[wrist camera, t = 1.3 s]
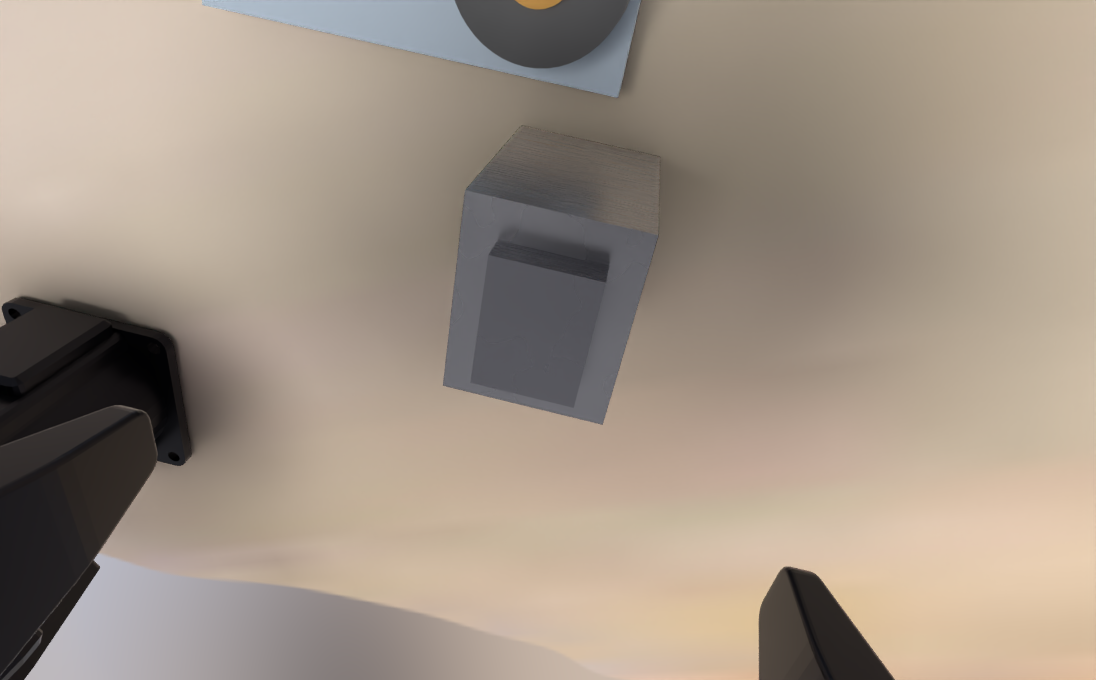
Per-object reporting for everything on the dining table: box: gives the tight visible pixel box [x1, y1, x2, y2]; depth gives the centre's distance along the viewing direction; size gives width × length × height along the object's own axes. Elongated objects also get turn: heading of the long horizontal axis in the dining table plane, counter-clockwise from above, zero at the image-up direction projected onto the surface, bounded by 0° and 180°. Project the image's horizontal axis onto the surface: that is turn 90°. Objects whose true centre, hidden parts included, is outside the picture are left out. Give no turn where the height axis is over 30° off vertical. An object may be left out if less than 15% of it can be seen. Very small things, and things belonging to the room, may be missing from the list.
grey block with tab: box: [443, 125, 660, 425], centre depth 16 cm, size 5×4×7 cm
